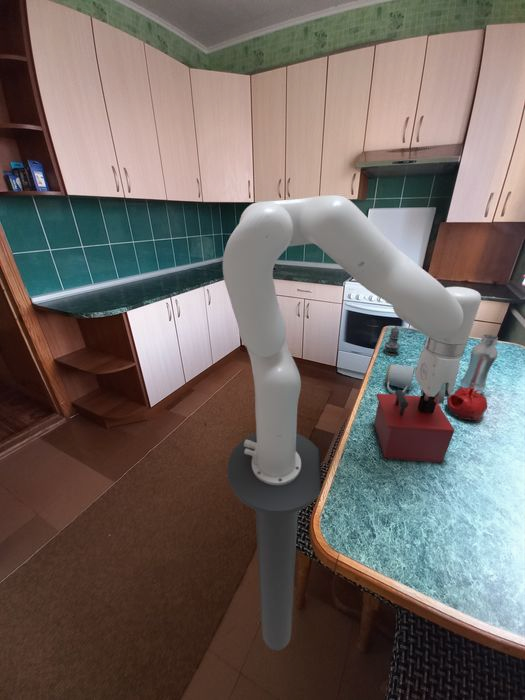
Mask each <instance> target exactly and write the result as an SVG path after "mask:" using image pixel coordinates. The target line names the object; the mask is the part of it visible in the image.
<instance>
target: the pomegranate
mask: <svg viewBox="0 0 525 700" xmlns="http://www.w3.org/2000/svg"><path fill="white" fill-rule="evenodd" d="M457 387H458V389H456V390H455V391H454V393H451V395H450V397H448V398H447V397H446V406H447V408H448V410H449V411H450V412H451V414H453V415H454V416H456V417H457V418H459V419H461V420H470V421H478V420H481V418H482V417H483V416H484V413H485V412H486V411H487V409H488V399H487V398H486V397H485V395H482V394H478V393H477V391H480V390H475V391H473V390H474V387H469V388H463V387H460V385H459V386H458V385H457Z"/></svg>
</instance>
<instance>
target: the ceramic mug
mask: <svg viewBox="0 0 525 700" xmlns="http://www.w3.org/2000/svg"><path fill="white" fill-rule="evenodd" d="M415 370H416V367H414V366H409V365H408V366H407V365H401V364H393V363H392V364H391V363H390V364H389V365H388V366H387V369H386V374H385V379H384V380H385V381H384V382H385V384H386V388H387V391H388V392H389V394H393V395H395V392H396V391H394V390H392V389H391V388H390V386H392V387H396V388H400V389H403V390H401V391H402V392H403V394H404V395H405V393H406V392H407V391H411V388H412V383H413V380H414V375H415Z"/></svg>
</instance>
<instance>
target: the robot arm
mask: <svg viewBox="0 0 525 700" xmlns="http://www.w3.org/2000/svg"><path fill="white" fill-rule="evenodd" d="M311 244H312V245H313V244H314V245H316V247H318V248H319V249H321V251H323V252H324V253H325V254H326V255H327V256H328V257H329V258H331V259H332V260H333V261H334V262H335V263H336V264H337V265H338V266H340V268H342V269H343V271H345V272H346V273H347V274H348V275H349V276H351V277H352V278H353V279H354V280H355V281H356V282H357V283H358V284H359V285H361V286H362V287H363V288H364V289H366V290H367V291H369V292H370V293H371V294H373V295H374V296H376V297H378V298H380V299H382V300H383V301H384V302H386V303H388V304H390V305H391V306H392V309H393V312H394V314H395V315H396V316H397V317H398V318H399V319H400V320H401V321H403V322H404V323H406V324H408V325H409V326H411V327H413V328H414V329H416V330H417V331H419V332H420V333H421V334H423V335H424V336H426V338H425V342H424V345H423V348H422V350H421V351H422V352H421V351H420V353H421V355H420V354H419V356H420V358H419V357H418V361H417V365H416V367H415V370H414V377H415V380H416V381H417V383H418V384H419V386H420V388H421V390H420V396H421V397H420V400H419V404H418V409H419V411H420V412H421V413H433V412H434V409H435V406H436V404H438V405H444V403H445V398H446V399H447V398H448V397H450V395H452V394H453V391H454V389H455V384H456V381H457V378H458V373H459V369H460V363H461V358H462V357H463V356H464V352H465V350H466V348H467V344H468V341H469V338H470V335H471V332H472V329H473V326H474V324H475V319H476V318H477V314H478V310H479V309H480V305H481V301H482V295H481V293H480V292H479V291H477V290H476V289H472V288H469V287H463V286H447V287H445V286H444V285H442V283H441V282H440V281H438V280H437V279H436V278H434V276H432V275H431V274H430V273H429V272H427V271H426V270H425V269H423V268H422V267H421V266H420V265H419V264H417V263H416V262H415V261H413V259H412V258H410V257H409V256H408V255H406V254H405V253H404V252H403V251H402V250H400V249H399V248H398V247H396V245H395V244H393V243H392V242H391V241H390V240H389V238H388V237H386V236H385V234H384V233H383V232H381V230H380V229H379V228H378V227H377V226H376V225H375V224H374V222H372V221H371V220H370V219H369V218H368V217H367V216H366V214H364V212H363V211H361V209H360V208H359V207H358V206H357V205H356V204H355V203H354V202H352V200H350V199H348V198H347V197H345V196H342V195H337V194H334V195H333V194H331V195H329V194H328V195H318V196H311V197H304V198H303V197H302V198H295V199H294V198H293V199H284V200H283V199H282V200H281V199H280V200H268V201H265V200H264V201H257V202H254V203H251V204H250V205H248V206H247V207H246V208H245V209H244V211H243V212H242V214H241V215H240V218H239V223H238V224H237V225H236V227H235V228H234V230H233V232H232V233H231V234H230V235H229V238H228V240H227V242H226V245H225V248H224V252H223V255H222V275H223V280H224V285H225V287H226V292H227V295H228V297H229V300H230V304H231V308H232V311H233V314H234V317H235V320H236V324H237V328H238V333H239V337H240V340H241V342H242V343H243V345H244V346H245V348H246V350H247V353H248V356H249V360H250V363H251V371H252V376H253V384H254V408H255V411H254V413H255V431H256V432H255V433H256V434H257V443H255V442H253V441H250V440H247V439H246V440H245V442H244V447H247V448H252V449H254V451H252V450H250V449H245V451H244V454H247V455H251V456H252V457H253V458H252V470H253V472H254V474H255V475H256V477H257V478H258V479H259V480H261V481H262V482H264V483H266V484H269V485H285V484H287V483H290V482H292V481H293V480H294V479H295V478H297V476H298V475H299V473H300V470H301V459H300V456H299V455H298V453H297V452H296V433H297V428H298V405H299V400H300V399H299V398H300V394H301V388H302V380H301V379H302V378H301V375H300V372H299V369H298V366H297V364H296V361H295V360H294V358H293V355H292V353H291V350H290V349H289V346H288V343H287V327H286V323H285V319H284V316H283V314H282V311H281V308H280V304H279V300H278V296H277V292H276V291H277V290H276V285H275V281H274V274H273V273H274V268H275V264H276V262H277V261H278V260H279V258H280V257H281V255H282V254H283V253H284V252H285V251H286V250H287V249H288V247H294V246H295V247H297V246H303V245H304V246H305V245H311Z"/></svg>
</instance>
